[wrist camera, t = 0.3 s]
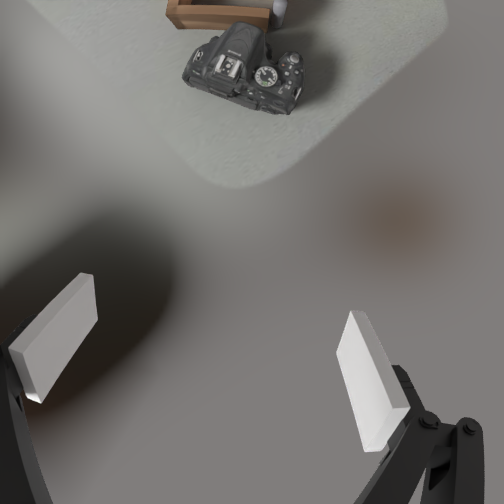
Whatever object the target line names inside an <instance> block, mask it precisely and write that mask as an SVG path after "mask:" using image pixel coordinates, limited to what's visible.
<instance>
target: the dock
mask: <svg viewBox="0 0 504 504" xmlns="http://www.w3.org/2000/svg"><path fill="white" fill-rule="evenodd" d="M191 3H192V0H168V4H167V9H166V16H167V17H168V18H169V19H170V21H171V22H172V23H173V24H174V25H175V27H176V28H177V29H212V30H227V29H228V28H229V27H230V26H231V25H232V24H233V23H235V22H237V21H243V22H247V23H250V24H253V25H255V26H257V27H259V28H261V29H262V30H263V32H264V33H267V30H268V21H269V12H270V9H265V8H254V7H241V6H222V5H191Z"/></svg>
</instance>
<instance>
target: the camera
mask: <svg viewBox="0 0 504 504" xmlns="http://www.w3.org/2000/svg"><path fill="white" fill-rule="evenodd" d="M271 53H272V48H271V46H270V45H269V44H267V43H266V42H265V35H264V32H263V30H262V29H261V28H259V27H257V26H255V25H253V24H250V23H247V22H243V21H237V22H235V23H233V24H232V25H231V26H230V27H229V28H228V29H227V30H226V31H225V32H224V33H223V34H222V35H221V36H220V37H218V36H215V37H213V38H211V40H210V42H209V43H207V44H204V45H202V46H201V47H199V48H197V49H196V50H195V51H194V53H193V55H192V56H191V58H190V60H189V61H188V63H187V65H186V68H185V70H184V72H183V75H182V79H183V80H184V82H185V83H186V84H187V85H188V86H190V87H195V88H197V89H200V90H203V91H206V92H208V93H211V94H214V95H216V96H219V97H221V98H224V99H226V100H229V101H232V102H234V103H237V104H239V105H242V106H244V107H247V108H249V109H253V110H257V111H258V110H261V111H264V112H268V113H271V114H286V115H289V114H290V113H291V111H292V110H293V109H294V107H295V105H296V103H297V101H298V99H299V97H300V95H301V93H302V91H303V89H304V83H305V67H304V63H303V59H302V57H301V56H300V55H299V54H298V53H297V52H286V53H285V54H284V55H283V56H282V57H281V58H280V59H279V61H278V62H277V63H276V64H275V63H274V62H273V61H272V60H271V57H272V56H271Z"/></svg>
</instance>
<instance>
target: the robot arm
mask: <svg viewBox="0 0 504 504" xmlns="http://www.w3.org/2000/svg"><path fill="white" fill-rule="evenodd" d="M97 320H98V318H97V311H96V302H95V292H94V281H93V275H90V274H85V273H80V274H79V275H78V276H77V277H76V278H75V279H74V280H73V281H72V282H70V284H68V285H67V286H66V287H65V289H63V290H62V291H61V292H60V293H59V294H58V295H57V296H56V297H55V298H54V299H53V300H52V302H50V303H49V304H48V305H47V307H46V308H45V309H44V310H43V311H42V312H41V313H40V314H39V315H34V314H33V315H32V316H30V317H28V318H26V319H24V320H23V321H22V322H21V324H20V325H19V327H17V328H16V329H15V330H14V332H12V333H11V334H10V335H9V336H8V337H7V338H6V339H5V340H4V342H3V343H2V344H1V345H0V504H53V502H52V500H51V497H50V495H49V492H48V489H47V487H46V484H45V481H44V479H43V476H42V473H41V470H40V467H39V464H38V461H37V458H36V454H35V451H34V448H33V444H32V440H31V437H30V433H29V429H28V425H27V421H26V417H25V413H24V408H23V403H22V399H21V397H20V392H21V391H22V390H23V389H24V391H25V393H26V395H27V398H29V399H31V400H34V401H37V402H39V403H42V402H43V400H44V398H45V397H46V395H47V393H48V392H49V390H50V389H51V387H52V386H53V384H54V383H55V381H56V380H57V378H58V377H59V375H60V374H61V372H62V370H63V369H64V367H65V366H66V364H67V363H68V361H69V360H70V358H71V357H72V356H73V354H74V353H75V351H76V350H77V348H78V347H79V345H80V344H81V342H82V341H83V340H84V338H85V337H86V335H87V334H88V332H89V331H90V330H91V328H92V327H93V326H94V324H95V323H96V321H97ZM336 354H337V357H338V360H339V364H340V367H341V370H342V373H343V377H344V380H345V384H346V387H347V390H348V394H349V398H350V401H351V404H352V408H353V412H354V415H355V418H356V422H357V426H358V429H359V433H360V437H361V440H362V444H363V448H364V452H371V451H381V450H382V449H383V447H384V446H385V445H386V443H388V445H389V449H390V450H389V451H388V453H387V454H386V455H385V456H384V458H383V459H382V460H381V462H380V465H379V467H378V469H377V470H376V472H375V473H374V475H373V476H372V478H371V479H370V481H369V482H368V484H367V485H366V487H365V488H364V490H363V491H362V493H361V494H360V495H359V497H358V498H357V500H356V501H355V502H354V504H408V503H409V501H410V499H411V497H412V495H413V493H414V491H415V489H416V487H417V485H418V483H419V480H420V478H421V476H422V474H423V472H424V470H425V468H426V473H425V480H424V486H423V491H422V497H421V502H420V504H484V445H483V431H482V427H481V426H480V424H479V423H478V422H477V421H475V420H474V419H472V418H467V417H465V418H462V419H460V420H459V422H458V423H457V424H456V425H451V424H445V423H441V421H440V419H439V418H438V417H437V416H436V415H435V414H433V413H432V412H429V411H425V409H424V406H423V404H422V402H421V400H420V398H419V396H418V394H417V392H416V390H415V389H414V386H413V384H412V382H411V380H410V378H409V376H408V374H407V372H405V370H404V369H402V368H401V367H400V366H399V365H391V364H390V362H389V360H388V358H387V356H386V354H385V352H384V350H383V348H382V346H381V344H380V341H379V339H378V337H377V335H376V333H375V332H374V330H373V327H372V325H371V324H370V322H369V320H368V318H367V316H366V314H365V312H362V311H350V314H349V318H348V320H347V323H346V326H345V329H344V332H343V335H342V338H341V341H340V344H339V347H338V349H337V352H336Z"/></svg>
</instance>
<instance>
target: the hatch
mask: <svg viewBox="0 0 504 504" xmlns="http://www.w3.org/2000/svg"><path fill="white" fill-rule="evenodd" d="M286 7H287V0H274V3H273V10H272V18H271V26H272V27H274V28H280V27H281V26H282V23H283V19H284V15H285V11H286Z"/></svg>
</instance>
